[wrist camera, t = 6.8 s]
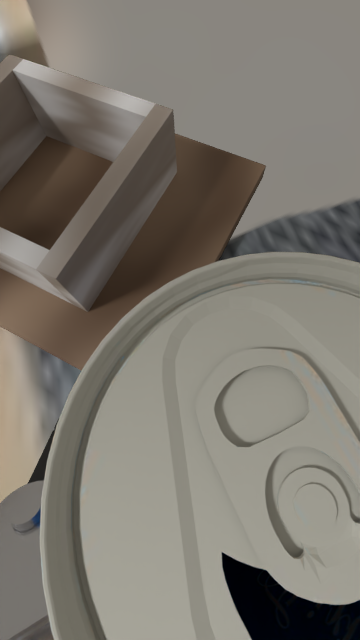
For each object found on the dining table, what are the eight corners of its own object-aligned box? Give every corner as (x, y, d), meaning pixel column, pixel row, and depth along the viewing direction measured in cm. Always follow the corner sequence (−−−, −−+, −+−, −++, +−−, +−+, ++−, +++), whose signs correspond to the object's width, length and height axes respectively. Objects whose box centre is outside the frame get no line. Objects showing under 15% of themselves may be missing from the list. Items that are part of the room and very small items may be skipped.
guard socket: (-132, 254, 19) (-240, 199, 14) (19, 89, 23) (-25, 5, 18) (143, 403, 15) (121, 396, 11) (262, 177, 20) (284, 100, 15)
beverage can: (183, 539, 13) (136, 1327, 2) (129, 400, 15) (-60, 342, 4) (310, 471, 14) (879, 720, 2) (243, 347, 16) (381, 159, 4)
